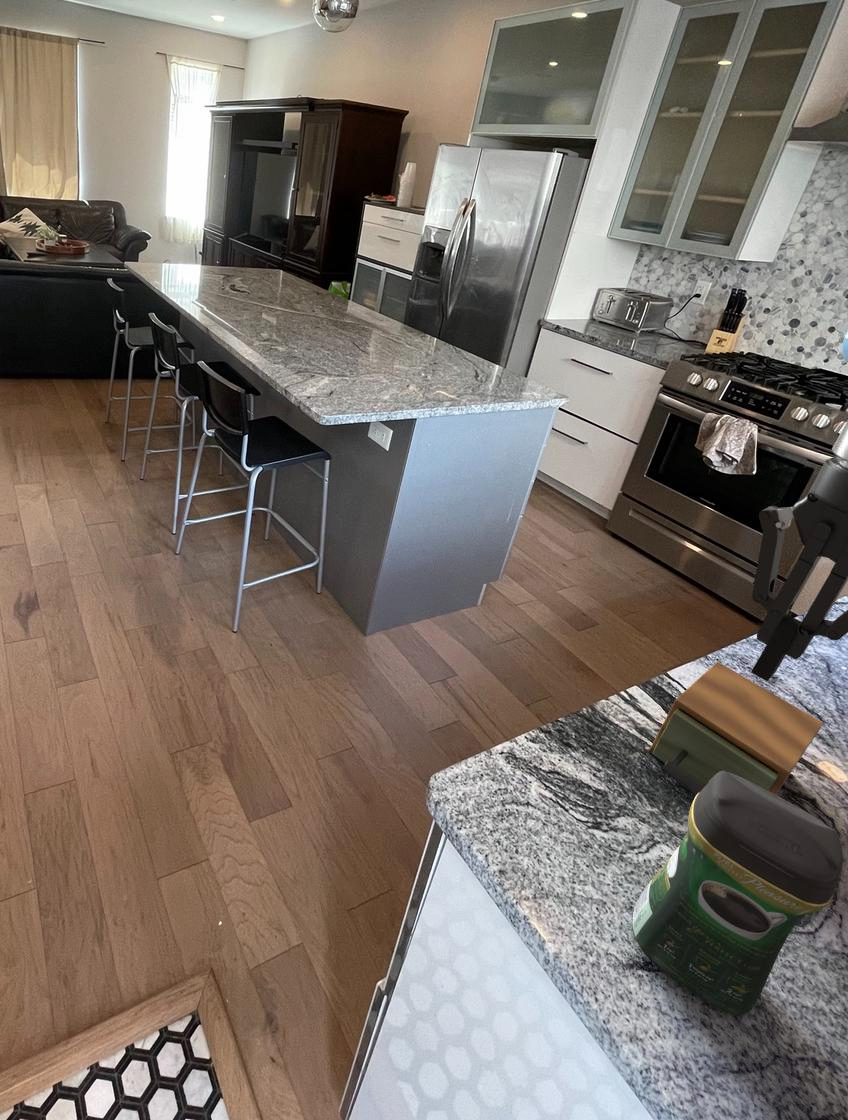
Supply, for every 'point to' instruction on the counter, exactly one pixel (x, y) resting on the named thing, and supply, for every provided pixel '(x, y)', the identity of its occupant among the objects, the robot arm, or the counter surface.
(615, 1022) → the counter surface
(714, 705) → the cabinet
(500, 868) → the counter surface
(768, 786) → the drawer
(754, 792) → the coffee jar
